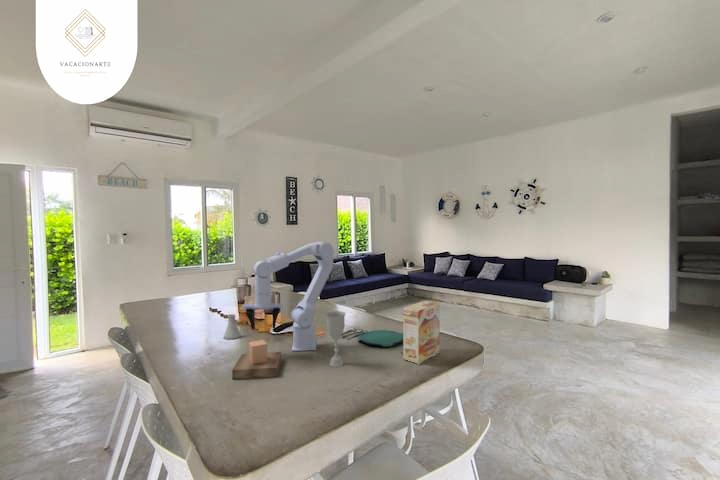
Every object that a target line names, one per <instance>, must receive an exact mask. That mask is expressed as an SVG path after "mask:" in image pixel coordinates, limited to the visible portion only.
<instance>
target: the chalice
mask: <svg viewBox="0 0 720 480" xmlns="http://www.w3.org/2000/svg"><path fill="white" fill-rule="evenodd" d="M346 314H347V313H346V312H345V311H337V310H336V311H329V312H326V313H325V316H326V328H327V331H328V334H329V336H330V337H331V339H332V340H334V344H333V346H334V349H333V351H334V355H333V356H332V357H331V359H330V361H329V366H331V367H340V366H342V365H344V361H343V359H342V356H341V355H339V350H340V349H339V348H338V346H339V343H338V342H339V341H338V340H340V339H341V336H343V335H342V333H344V330H345V325H346V324H345V317H346Z"/></svg>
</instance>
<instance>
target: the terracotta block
mask: <svg viewBox="0 0 720 480" xmlns="http://www.w3.org/2000/svg"><path fill="white" fill-rule="evenodd" d="M267 353H268V344H267V342H266V341H265V340H264V339H260V340H255V341H249V342H248V354H249V360H250V361H251V363H252V364H256V363H261V362H266V361H267Z"/></svg>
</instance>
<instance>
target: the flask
mask: <svg viewBox="0 0 720 480" xmlns="http://www.w3.org/2000/svg"><path fill="white" fill-rule="evenodd" d="M227 318H228V320H227V326H226V329H225V332H224V335H223V339H224V340H235V339H239V338H240V337H241V336H242V334H241V332H240V330H239V327H238V325H237V322H236V314H234V313H232V314H231V313H230V314H228V315H227Z"/></svg>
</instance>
